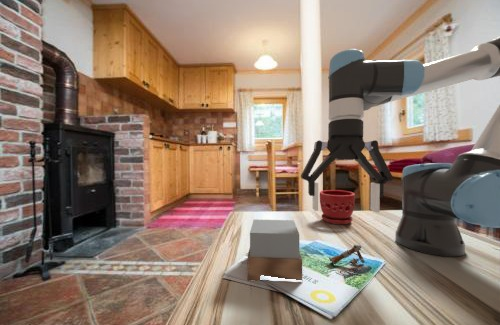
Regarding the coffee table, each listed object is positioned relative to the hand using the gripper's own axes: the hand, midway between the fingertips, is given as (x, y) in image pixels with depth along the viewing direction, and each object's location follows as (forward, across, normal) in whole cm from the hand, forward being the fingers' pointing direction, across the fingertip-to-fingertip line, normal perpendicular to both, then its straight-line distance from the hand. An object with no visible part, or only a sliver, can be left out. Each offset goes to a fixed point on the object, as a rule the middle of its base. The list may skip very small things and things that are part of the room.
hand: (344, 210), depth 50 cm
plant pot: (+13, -10, -36) cm, 39 cm away
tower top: (+8, +17, +4) cm, 19 cm away
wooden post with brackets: (+13, 0, 0) cm, 13 cm away
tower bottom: (+13, +17, +3) cm, 21 cm away
